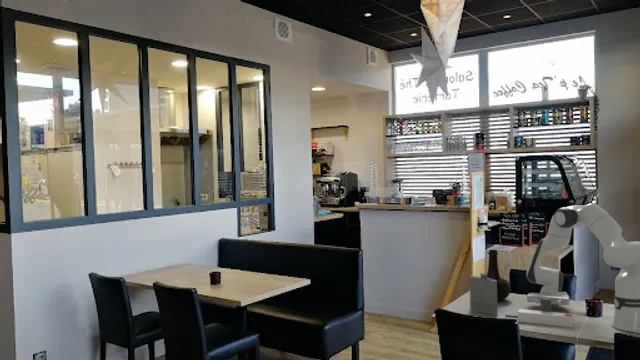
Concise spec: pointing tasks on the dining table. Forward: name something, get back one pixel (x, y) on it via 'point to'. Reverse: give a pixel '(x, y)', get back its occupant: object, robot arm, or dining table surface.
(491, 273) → the glass bottle
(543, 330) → the dining table surface
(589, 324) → the dining table surface
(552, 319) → the power strip
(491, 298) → the hip flask
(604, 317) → the dining table surface
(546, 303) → the charger
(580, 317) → the dining table surface
